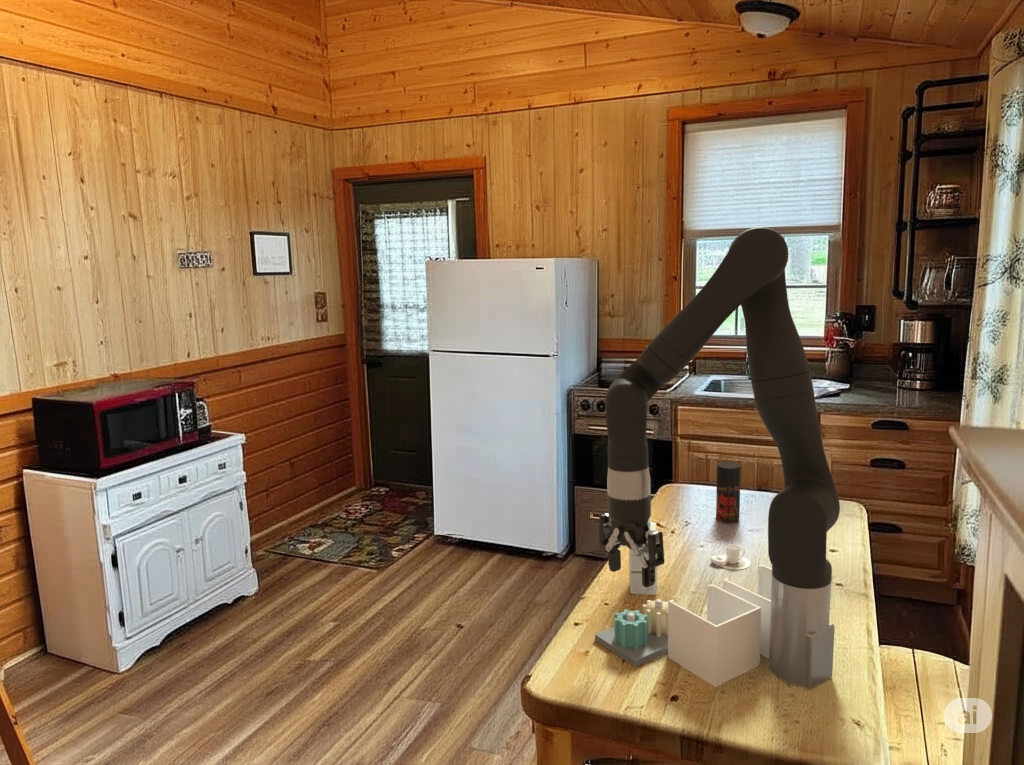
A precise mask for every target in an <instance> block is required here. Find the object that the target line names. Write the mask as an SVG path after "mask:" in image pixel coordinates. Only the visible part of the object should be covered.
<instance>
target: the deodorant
mask: <svg viewBox="0 0 1024 765" xmlns="http://www.w3.org/2000/svg"><path fill="white" fill-rule="evenodd" d="M741 467H742V466H741V464H740V463H738V462H733V461H721V462H718V463H717V464H716V496H715V497H716V498H715V499H716V500H715V501H716V502H715V503H716V504H715V507H716V508H715V520H716V521H717V522H719V523H722V524H729V525H732V524H738V523H739V522H740V510H741V509H740V508H741V505H740V504H741V469H742V468H741Z"/></svg>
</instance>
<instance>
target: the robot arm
mask: <svg viewBox="0 0 1024 765" xmlns="http://www.w3.org/2000/svg"><path fill="white" fill-rule="evenodd" d="M788 261H789V247H788V245H787V241H786V240H785V238H784V237H783V236H782V234H780V233H779V232H778V231H776V230H775V229H772V228H769V227H763V226H761V227H760V226H759V227H758V226H757V227H752V228H748V229H746V230H744V231H743V232H741V233H739V234H738V235H737V236H736V237H735V238H734V240H733V241H732V242H731V244H730V245H729V249H728V251H727V252H726V254H725V256H724V257H723V259H722V261H721V262H720V264H719V265H718V267H717V269H716V270H715V271H714V273H713V274H712V275H711V277H710V278H709V280H708V281H707V282H706V283H705V284H704V286H703V287H702V288H701V289H700V290H699V292H698V293H697V294H696V295H695V296H694V297H693V298H692V299H691V300H689V302H688V303H687V304H686V305H685V306H684V307H683V308H682V309H681V310H680V311H679V312H678V313H677V314H676V315H674V317H673V318H672V319H671V320H670V321H669V322H668V323H667V324H666V325H665V326H664V327H663V328H662V330H660V332H659V333H658V334H657V335H656V336H655V337H654V338H653V339H652V340H651V341H650V343H649V344H648V345H647V346H646V347H645V348H644V350H643V351H642V352H641V354H640V355H639V356H638V357H637V358H636V359H635V360H634V361H633V362H632V363H631V364H630V365H628V366H627V367H626V368H625V369H624V370H623V371H622V372H621V373H620V374H619V375H618V376H617V377H616V378H615V379H614V381H612V383H611V384H610V385H609V386H608V389H607V392H606V395H605V399H604V407H605V408H604V412H605V423H606V430H607V438H608V439H607V477H606V481H607V482H606V487H607V488H606V489H607V512H605V513H603V514H600V515H599V518H598V521H599V522H598V524H599V525H598V527H599V529H598V531H599V532H598V533H599V534H598V538H599V539H598V541H599V542H598V543H599V545H600V546H601V547H602V546H604V547H605V551H607V559H608V567H609V571H610V572H613V573H614V572H617V571H620V570H621V568H622V562H621V561H622V560H621V559H622V558H621V556H622V555H621V549H620V548H621V546H622V547H627V548H628V549H629V548H630V549H632V550H633V552H634V554H635V556H637V557H639V559H640V562H641V564H642V566H643V567H642V586H644V587H646V588H647V587H650V586H652V585H653V584H654V583H655V567H657V568H658V567H659V566H661V565H662V566H663V565H664V564H665V550H664V536H663V535H664V534H663V532H662V531H661V530H656V532H653V531H650V530H649V527H648V520H650V518H651V516H652V500H651V498H652V497H651V496H652V495H651V492H652V491H651V475H650V468H649V467H650V466H649V444H648V438H647V426H648V422H647V420H648V418H647V417H648V415H647V414H648V413H647V412H648V403H649V401H650V400H651V399H652V398H653V397H654V396H655V395H656V394H657V392H658V391H659V390H661V389H662V387H663V386H664V385H665V384H669V383H670V382H671V381H673V380H674V379H675V378H676V377H677V376H678V375H679V374H680V373H681V372H682V371H683V370H684V368H686V366H688V364H689V363H690V362H691V361H692V360H693V359H695V357H696V356H697V354H698V353H699V352H700V351H701V350H702V349H703V348H704V347H705V345H706V344H707V343H708V342H709V340H710V339H711V338H712V336H714V334H715V333H716V332H717V330H718V329H719V328H720V327H721V326H722V325H723V324H724V322H725V321H726V320H727V319H728V318H729V317H730V316H731V315H732V314H733V313H734V312H735V311H736V310H738V308H739V307H741V310H742V315H743V320H744V326H745V338H746V340H745V341H746V342H745V343H746V353H747V363H748V371H749V378H750V382H751V388H752V393H753V398H754V403H755V405H756V406H755V407H756V409H757V412H758V415H759V416H760V418H761V421H762V422H763V424H764V426H765V427H766V429H767V432H768V433H769V434H770V436H771V437H772V440H773V441H774V443H775V445H776V447H777V450H778V453H779V457H780V460H781V467H782V473H783V481H784V488H783V489H782V490H781V491H779V492H778V493H777V494H776V495H775V496H774V497H773V499H771V502H770V505H769V508H768V516H767V517H768V518H767V541H768V542H767V545H768V546H767V550H768V551H767V553H768V559H769V562H770V564H771V568H772V588H771V615H770V644H769V645H770V646H769V658H768V669H769V670H770V672H771V673H772V675H773V676H775V677H776V678H778V679H779V680H780V681H782V682H786V683H789V684H791V685H795V686H803V687H805V688H807V689H809V690H810V689H813V688H815V687H817V686H819V685H820V684H822V683H824V682H825V681H827V680H829V679H831V678H833V670H834V669H833V668H834V666H833V665H834V649H835V648H834V647H835V628H836V627H835V625H834V624H833V623H831V622H830V617H831V616H830V614H831V613H830V612H831V596H832V579H833V577H832V576H833V566H832V563H831V562H830V560H828V559H827V539H828V538H827V537H828V535H827V534H828V531H829V530H830V529H832V528H833V527H834V526H835V525H836V523H837V522H838V520H839V516H840V512H841V503H840V499H839V494H838V492H837V489H836V486H835V482H834V479H833V476H832V472H831V470H830V467H829V463H828V461H827V457H826V452H825V450H824V449H825V448H824V445H823V439H822V432H821V426H820V420H819V415H818V410H817V402H816V398H815V391H814V389H815V388H814V385H813V378H812V375H811V371H810V370H811V369H810V366H809V363H808V358H807V355H806V352H805V349H804V345H803V343H802V340H801V337H800V334H799V332H798V329H797V327H796V325H795V322H794V319H793V316H792V313H791V310H790V305H789V303H790V302H789V297H788V289H787V279H786V268H787V265H788ZM643 544H644V545H645V548H644V549H639V547H641V546H642V545H643ZM644 554H647V556H648V558H649V559H648V560H647V559H646V557H645V555H644ZM656 554H657V558H656Z"/></svg>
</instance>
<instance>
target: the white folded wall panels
mask: <svg viewBox="0 0 1024 765" xmlns="http://www.w3.org/2000/svg"><path fill="white" fill-rule="evenodd" d="M757 567H758V568H757V570H758V571H757V572H758V575H757V593H756V592H753V591H752V590H749V589H748V588H745V587H742V586H741V585H739V584H736V583H734V582H732V581H730V578H728V577H726V578H724V579H723V581H722V588H721V587H718V586H717V585H715V584H712V583H711V584H708V585H707V591H706V592H707V600H706V606H707V607H706V608H707V609H706V618H703V617H702V616H699V615H698V614H696V613H694V612H692V611H690V610H689V609H686V608H685V607H683V606H681V605H679V604H677V603H675V599H670V600H668V601H667V602H668V653H667V658H669V659H670V660H671V661H673V662H675V663H676V664H678V665H680V666H681V667H683V668H684V669H686V670H687V671H689V672H690V673H693V674H694V675H695V676H697V677H699V678H700V679H702V680H703V681H705V682H707V683H708V684H710V685H711V686H713V687H715V688H716V687H719V686H720V685H722V684H725V683H727V682H728V681H730V680H733V679H734V678H736V677H738V676H741V675H742V674H744V673H747V672H750V671H751V670H753V669H754V668H756V667H759V666H760V658H761V656H760V655H762V656H764V657H766V658H767V659H769V646H770V645H769V644H770V615H771V588H772V567H769V566H766V565H764V564H761V565H758V566H757Z"/></svg>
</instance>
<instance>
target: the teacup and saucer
mask: <svg viewBox="0 0 1024 765" xmlns="http://www.w3.org/2000/svg"><path fill="white" fill-rule="evenodd" d="M742 550H743V552H742V554H741V555H740V552H741V551H742ZM744 556H745V549H744V548H743V547H740V546H739V545H737V544H733V543H731V544H726V545H725V554H722V555H712V556H711V557H710V562H711V564H712V563H713V564H714V565H715V566H716V565H717V566H718V567H721V568H723V569H727V570H735V571H736V570H737V571H738V570H739V571H740V570H745V569H748V568H750V567H751V565H752V564H751V563H752V562H751V561H750V559H748V558H746V557H744ZM740 560H741V561H743V562H744V565H743V566H740V567H730V566H727V564H731V565H736V564H738V562H739V561H740Z"/></svg>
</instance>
